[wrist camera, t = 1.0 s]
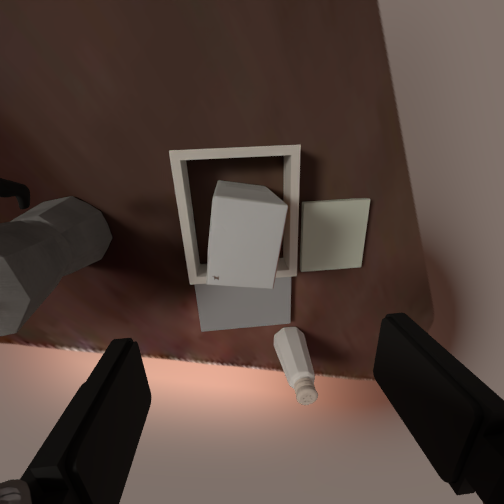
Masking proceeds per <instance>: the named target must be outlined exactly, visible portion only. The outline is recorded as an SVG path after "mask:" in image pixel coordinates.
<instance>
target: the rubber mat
mask: <svg viewBox="0 0 504 504" xmlns="http://www.w3.org/2000/svg"><path fill="white" fill-rule="evenodd" d="M369 206H370V199H368V198H357V199H341V200H324V201H308V202H302V213H301V243H300V270H301V272H306V271H319V270H331V269H344V268H356V267H361V264H362V257H363V250H364V243H365V235H366V228H367V221H368V214H369Z"/></svg>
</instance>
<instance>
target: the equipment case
mask: <svg viewBox="0 0 504 504" xmlns="http://www.w3.org/2000/svg"><path fill="white" fill-rule="evenodd" d="M300 148H301V145H283V146H260V147H238V148H216V149H194V150H171V151H169V155H170V161H171V168H172V174H173V180H174V187H175V193H176V199H177V206H178V212H179V219H180V225H181V231H182V238H183V244H184V250H185V257H186V263H187V269H188V276H189V282H190V285H193V284H195V291H196V298H197V305H198V311H199V318H200V325H201V331H213V330H223V329H234V328H245V327H255V326H266V325H277V324H288V323H290V314H291V277H292V276H297V251H298V217H299V183H300ZM282 155H284V200H283V202H285V203H286V204H287V205H288V211H287V217H286V222H285V228H284V233H283V258H279V261H278V266H277V271H276V277H275V282H274V287H273V289H267V288H251V287H235V286H221V285H207V284H206V279H207V264H200V260H199V253H198V245H197V238H196V230H195V223H194V215H193V208H192V200H191V193H190V186H189V178H188V171H187V163H186V160H198V159H219V158H240V157H261V156H282Z"/></svg>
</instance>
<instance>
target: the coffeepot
mask: <svg viewBox="0 0 504 504" xmlns="http://www.w3.org/2000/svg"><path fill="white" fill-rule="evenodd" d="M11 196H16V198H17V200H18V203H19V207H20V209H26V208H28V207H29V205H30V192H29V189H28V188H27V187H26V186H25V185H23V184H20V183H16V182H13V181H9V180H5V179H2V178H0V197H11ZM111 240H112V235H111V232H110V229H109V226H108V223H107V222H106V220H105V218H104V217H103V215H102V213H101V211H99V210H97V209H96V208H94V207H93V206H91V205H90V204H88V203H86V202H83V201H81V200H79V199H77V198H75V197H73V196H70V197H65V198H60V199H55V200H51V201H46V202H42V203H41V204H39V205H37V206H36V207H34V208H32V209H31V210H29V211H27V212H25V213H24V214H22V215H20V216H19V217H17V218H15V219H14V220H12V221H11V222H6V223H0V336H3V335H8V334H13V333H16V332H18V330H19V329H20V328H21V327H22V326H23V325H24V323H25V322H26V321H27V320H28V319H29V318H30V316H31V315H32V314H33V313H34V312H35V311H36V309H37V308H38V307H39V306H40V305H41V304H42V302H43V301H44V300H45V299H46V298H47V297H48V296H49V294H50V293H51V292H52V291H53V290H54V289H55V287H56V286H57V285H58V283H59V281H60V280H61V278H62V276H64V275H68V274H71V273H73V272H75V271H77V270H79V269H81V268H84V267H86V266H88V265H90V264H92V263H94V262H97V261H99V260H101V259H102V258H103V256H104V254H105V252H106V251H107V249H108V247H109V244H110V242H111Z"/></svg>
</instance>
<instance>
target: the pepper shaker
mask: <svg viewBox="0 0 504 504" xmlns="http://www.w3.org/2000/svg"><path fill="white" fill-rule="evenodd" d="M274 347H275V350H276V352H277V355H278V357H279V360H280V363H281V365H282V368H283V370H284V373H285V376H286V378H287V381H288V383H289V385H290V386H291V387H292V388H294V389H295V393H296V399H297V401H298V402H299V403H300V404H302V405H309V404H312V403H314V402H315V401H316V400H317V398H318V393H317V391H316V390H315V387H314V379H315V375H314V371H313V367H312V363H311V359H310V355H309V351H308V348H307V344H306V340H305V336H304V333H302V332H301V331H300V330H299V329H298V328H297V327H284V328H282V329H281V330H280V331H279V332H277V333H276V334H275V335H274Z"/></svg>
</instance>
